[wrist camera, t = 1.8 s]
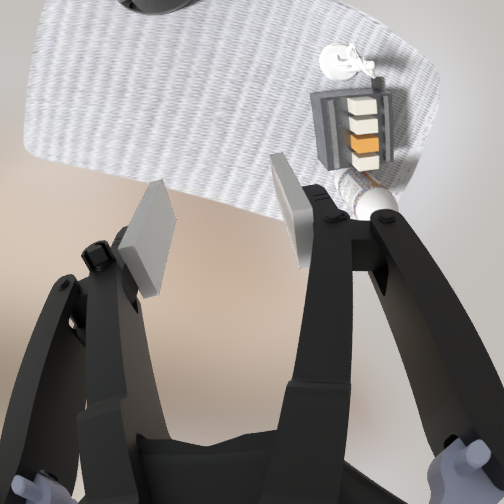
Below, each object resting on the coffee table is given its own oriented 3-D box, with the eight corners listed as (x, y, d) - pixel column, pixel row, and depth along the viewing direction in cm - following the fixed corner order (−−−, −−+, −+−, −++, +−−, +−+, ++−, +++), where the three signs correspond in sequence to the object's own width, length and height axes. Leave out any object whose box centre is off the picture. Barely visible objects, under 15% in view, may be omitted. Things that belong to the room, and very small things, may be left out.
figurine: (367, 61, 42) (402, 66, 32) (343, 90, 45) (373, 101, 35) (335, 34, 39) (365, 30, 29) (310, 63, 42) (334, 66, 32)
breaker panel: (309, 93, 45) (321, 98, 40) (375, 87, 45) (393, 93, 39) (318, 158, 52) (329, 172, 47) (378, 150, 52) (395, 162, 46)
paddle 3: (350, 134, 44) (357, 139, 41) (370, 132, 44) (378, 137, 41) (351, 147, 45) (358, 153, 43) (371, 145, 45) (378, 150, 43)
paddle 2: (348, 116, 42) (356, 120, 40) (369, 114, 42) (377, 118, 40) (350, 129, 43) (357, 134, 41) (370, 127, 43) (378, 132, 41)
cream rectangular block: (347, 97, 40) (354, 101, 38) (367, 96, 40) (376, 99, 38) (348, 111, 42) (355, 115, 39) (368, 109, 41) (377, 113, 39)
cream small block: (351, 152, 46) (358, 158, 43) (371, 149, 45) (378, 155, 43) (352, 164, 47) (359, 171, 45) (371, 162, 47) (379, 168, 44)
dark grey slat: (371, 77, 43) (374, 77, 42) (377, 77, 43) (380, 77, 42) (376, 160, 53) (378, 162, 52) (381, 159, 53) (384, 161, 52)
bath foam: (374, 176, 55) (427, 232, 39) (350, 201, 58) (394, 265, 42) (351, 154, 52) (404, 205, 36) (326, 181, 55) (367, 241, 39)
